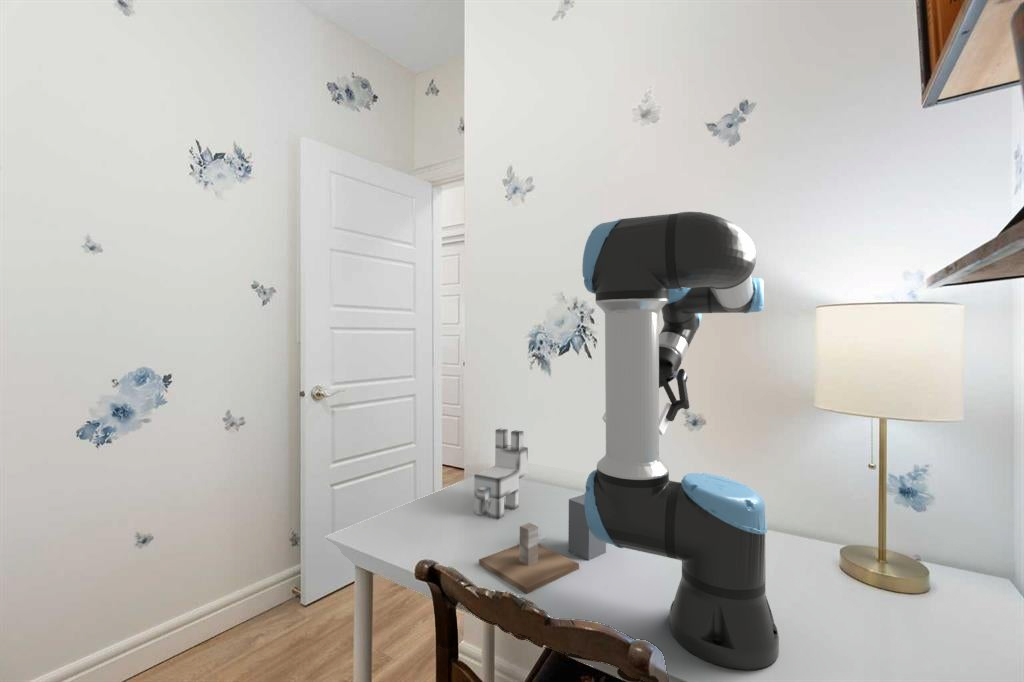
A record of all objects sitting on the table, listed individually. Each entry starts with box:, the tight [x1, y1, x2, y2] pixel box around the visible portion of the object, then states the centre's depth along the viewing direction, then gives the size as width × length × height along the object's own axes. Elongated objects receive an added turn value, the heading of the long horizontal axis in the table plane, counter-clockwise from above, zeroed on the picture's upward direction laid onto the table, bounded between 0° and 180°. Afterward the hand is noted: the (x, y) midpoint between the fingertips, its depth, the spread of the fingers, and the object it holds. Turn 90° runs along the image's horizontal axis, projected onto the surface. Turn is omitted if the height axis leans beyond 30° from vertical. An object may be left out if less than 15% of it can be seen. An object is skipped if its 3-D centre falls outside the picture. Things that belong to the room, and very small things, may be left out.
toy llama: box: [473, 427, 529, 520], centre depth 123 cm, size 8×18×20 cm, turn 150°
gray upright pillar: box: [567, 494, 607, 561], centre depth 98 cm, size 6×6×11 cm
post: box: [478, 522, 580, 594], centre depth 91 cm, size 14×14×8 cm
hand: (631, 426), depth 102 cm, fingers open, 13 cm apart
